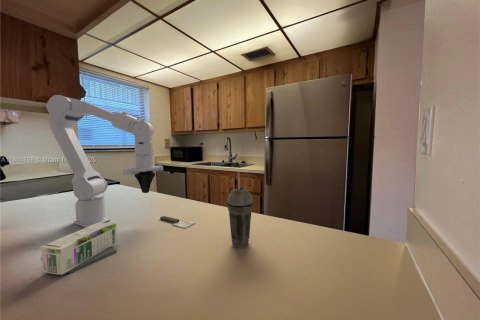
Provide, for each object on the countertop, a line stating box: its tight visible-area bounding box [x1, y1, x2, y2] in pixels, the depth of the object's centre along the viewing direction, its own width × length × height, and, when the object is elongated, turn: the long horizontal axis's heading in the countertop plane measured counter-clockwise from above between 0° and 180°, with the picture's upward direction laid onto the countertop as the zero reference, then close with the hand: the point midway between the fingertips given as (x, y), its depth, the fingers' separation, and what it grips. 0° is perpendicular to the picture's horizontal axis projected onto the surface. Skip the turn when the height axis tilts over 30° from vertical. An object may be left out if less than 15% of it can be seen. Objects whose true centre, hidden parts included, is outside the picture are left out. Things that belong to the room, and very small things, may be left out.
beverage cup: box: [226, 172, 254, 249], centre depth 56 cm, size 7×7×20 cm
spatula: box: [159, 215, 196, 229], centre depth 73 cm, size 14×5×1 cm, turn 61°
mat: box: [67, 246, 117, 274], centre depth 52 cm, size 14×10×1 cm
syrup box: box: [40, 222, 118, 275], centre depth 50 cm, size 6×6×14 cm
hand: (145, 192), depth 74 cm, fingers closed
